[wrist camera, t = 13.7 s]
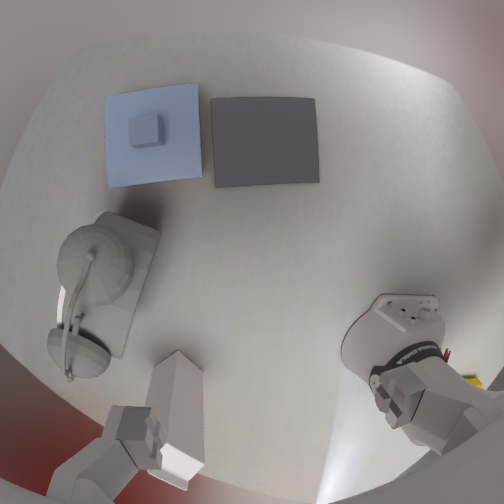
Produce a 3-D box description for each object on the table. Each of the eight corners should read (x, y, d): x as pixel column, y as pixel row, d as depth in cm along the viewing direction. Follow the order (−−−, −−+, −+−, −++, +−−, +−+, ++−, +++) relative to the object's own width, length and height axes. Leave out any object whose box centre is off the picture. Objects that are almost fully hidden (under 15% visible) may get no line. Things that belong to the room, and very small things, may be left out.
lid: (198, 86, 28) (196, 72, 24) (202, 177, 31) (201, 177, 27) (108, 100, 27) (94, 90, 23) (111, 188, 30) (96, 190, 26)
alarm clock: (120, 196, 35) (27, 224, 14) (178, 219, 37) (137, 275, 16) (91, 299, 38) (21, 390, 17) (141, 320, 40) (100, 430, 19)
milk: (178, 349, 42) (164, 464, 21) (204, 372, 44) (207, 484, 23) (153, 367, 43) (130, 477, 21) (178, 388, 44) (171, 496, 23)
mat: (313, 99, 35) (314, 98, 35) (317, 182, 38) (319, 182, 38) (210, 99, 34) (210, 98, 33) (215, 187, 37) (215, 187, 36)
